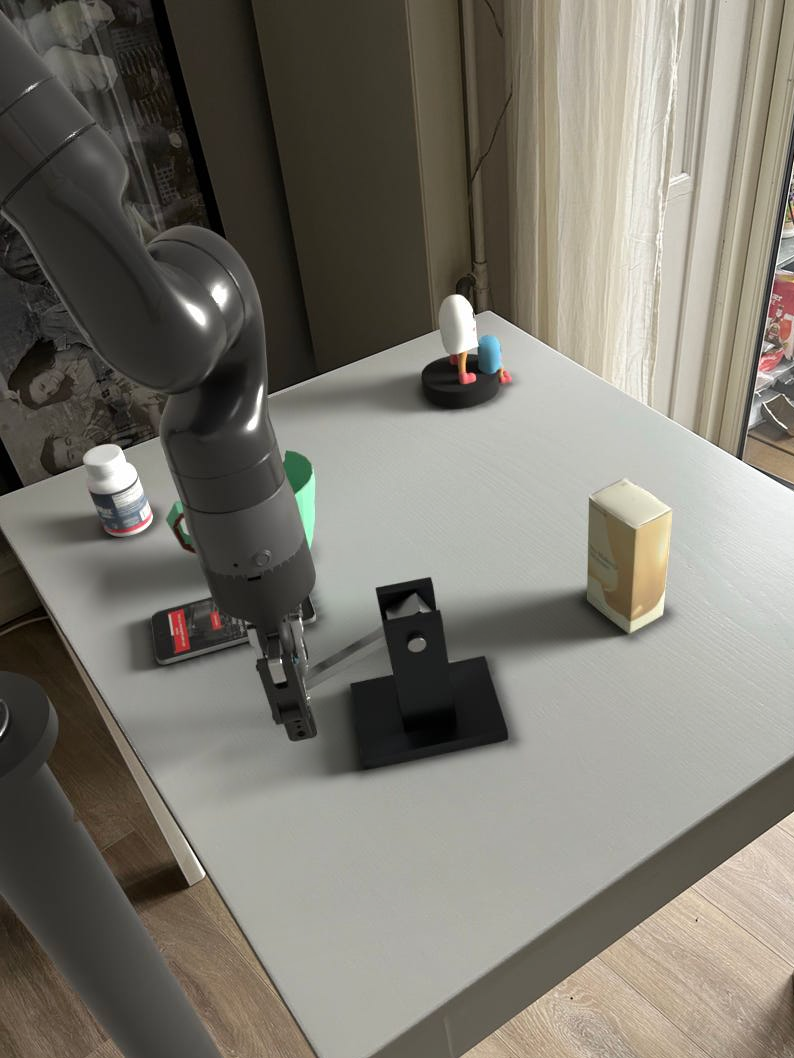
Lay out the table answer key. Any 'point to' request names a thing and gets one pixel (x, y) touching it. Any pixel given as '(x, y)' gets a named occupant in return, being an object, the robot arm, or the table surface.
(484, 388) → the figurine
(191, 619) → the smartphone
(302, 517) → the mug
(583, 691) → the table surface
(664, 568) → the cosmetic box
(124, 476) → the pill bottle
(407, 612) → the lever
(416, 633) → the bracket
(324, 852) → the table surface
